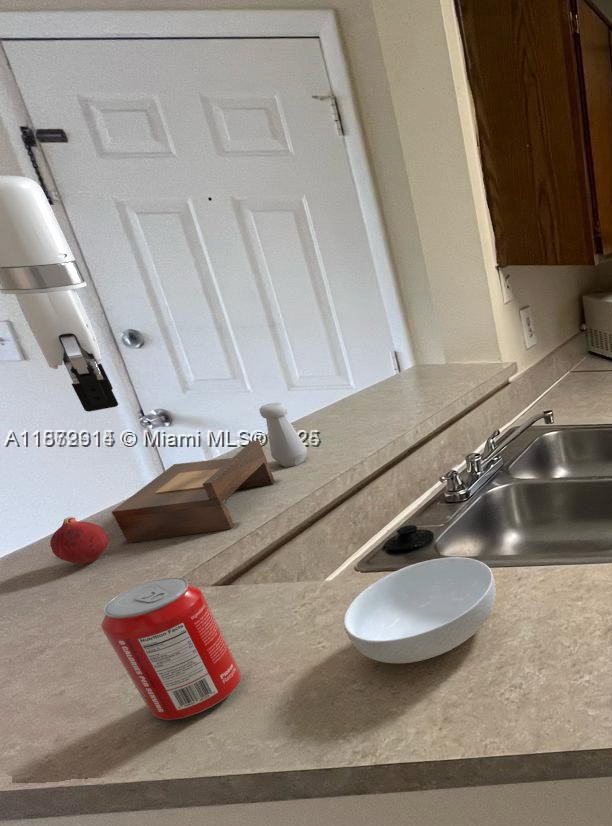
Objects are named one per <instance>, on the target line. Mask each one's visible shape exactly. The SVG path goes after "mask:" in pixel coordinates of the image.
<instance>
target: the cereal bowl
mask: <svg viewBox="0 0 612 826" xmlns="http://www.w3.org/2000/svg"><path fill="white" fill-rule="evenodd" d="M496 594H497V588H496V581H495V577H494V573H493V571H492V570H491V568H490V567H489V566H488V565H487V564H485V563H484V562H482V561H480V560H477V559H475V558H469V557H461V556H451V557H440V558H434V559H430V560H425V561H424V560H423V561H421V562H416V563H414V564H410V565H408V566H405V567H402V568H400V569H398V570H395V571H394V572H391V573H389V574H387V575H385V576H383V577H381V578H380V579H378V580H377V581H375V582H373V583H371V584H370V585H369V586H368V587H366V588H365V589H364V590H362V591H361V592H360V593H359V594H358V595H357V596H356V597H355V598H354V599H353V600H352V602H351V603H350V604H349V605H348V607H347V608H346V611H345V613H344V616H343V627H344V631H345V633H346V635H347V637H348V639H349V640H350V642H351V644H352V645H353V646H354V647H355V649H357V651H358V652H359V653H360V654H362V655H363V656H365V657H366V658H368V659H371V660H374V661H377V662H381V663H385V664H386V663H387V664H388V663H389V664H407V663H408V664H410V663H417V662H421V661H426V660H428V659H431V658H434V657H438V656H440V655H443V654H445V653H448V652H449V651H452V650H454V649H455V648H457V647H459V646H460V645H462V644H463V643H464V642H466V641H468V639H470V638H471V637H472V636H474V635H475V634H476V633H477V632H478V630H480V629H481V628H482V627H483V626H484V624H485V623H486V622H487V621H488V618H490V616H491V613H492V612H493V608H495V607H494V606H495V603H496V597H497V595H496Z"/></svg>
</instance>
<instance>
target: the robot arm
mask: <svg viewBox="0 0 612 826" xmlns="http://www.w3.org/2000/svg"><path fill="white" fill-rule="evenodd" d="M87 286H88V285H87V282H86V281H85V277H84V276H83V274H82V271H81V269H80V267H79V264H78V262H77V261H76V258H75V256H74V254H73V252H72V250H71V247H70V245H69V242H68V241H67V239H66V237H65V234H64V233H63V231H62V228H61V226H60V224H59V222H58V220H57V217H56V215H55V213H54V210H53V209H52V207H51V204H50V202H49V200H48V198H47V196H46V194H45V192H44V190H43V188H42V187H41V186H40V184H39V183H38V182H37V181H35V180H34V179H32V178H30V177H26V176H22V175H21V176H20V175H0V293H1V294H4V295H15V297H16V300H17V303H18V305H19V308H20V311H21V312H22V315H23V317H24V319H25V321H26V322H27V325H28V326H29V329H30V331H31V332H32V335H33V337H34V338H35V341H36V343H37V345H38V347H39V348H40V351H41V352H42V353H41V354H42V355H43V357H44V359H45V361H46V363H47V365H48V368H51V369H53V370H58V369H59V366H63V365H64V366H65V368H66V370H67V373H68V375H69V377H70V379H71V382H72V383H71V386H72V388H73V389H74V392H75V394H76V396H77V398H78V399H79V402H80V404H81V406H82V408H83V410H84V411H85V412H87V413H88V412H90V413H91V412H95V411H100V410H106V409H111V408H117V407H118V406H119V402H118V400H117V398H116V395H115V394H114V391H113V385H112V383H111V381H110V379H109V377H108V374H107V373H106V371H105V368H104V367H103V365H102V363H100V362H101V361H102V360H103V358H102V354H101V350H100V346H99V343H98V340H97V339H98V338H97V336H96V333H95V330H94V328H93V326H92V323H91V321H90V318H89V316H88V314H87V311H86V309H85V307H84V305H83V303H82V300H81V298H80V296H79V293H78V292H77V290H78V289H82V288H84V287H87ZM76 289H77V290H76Z"/></svg>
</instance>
